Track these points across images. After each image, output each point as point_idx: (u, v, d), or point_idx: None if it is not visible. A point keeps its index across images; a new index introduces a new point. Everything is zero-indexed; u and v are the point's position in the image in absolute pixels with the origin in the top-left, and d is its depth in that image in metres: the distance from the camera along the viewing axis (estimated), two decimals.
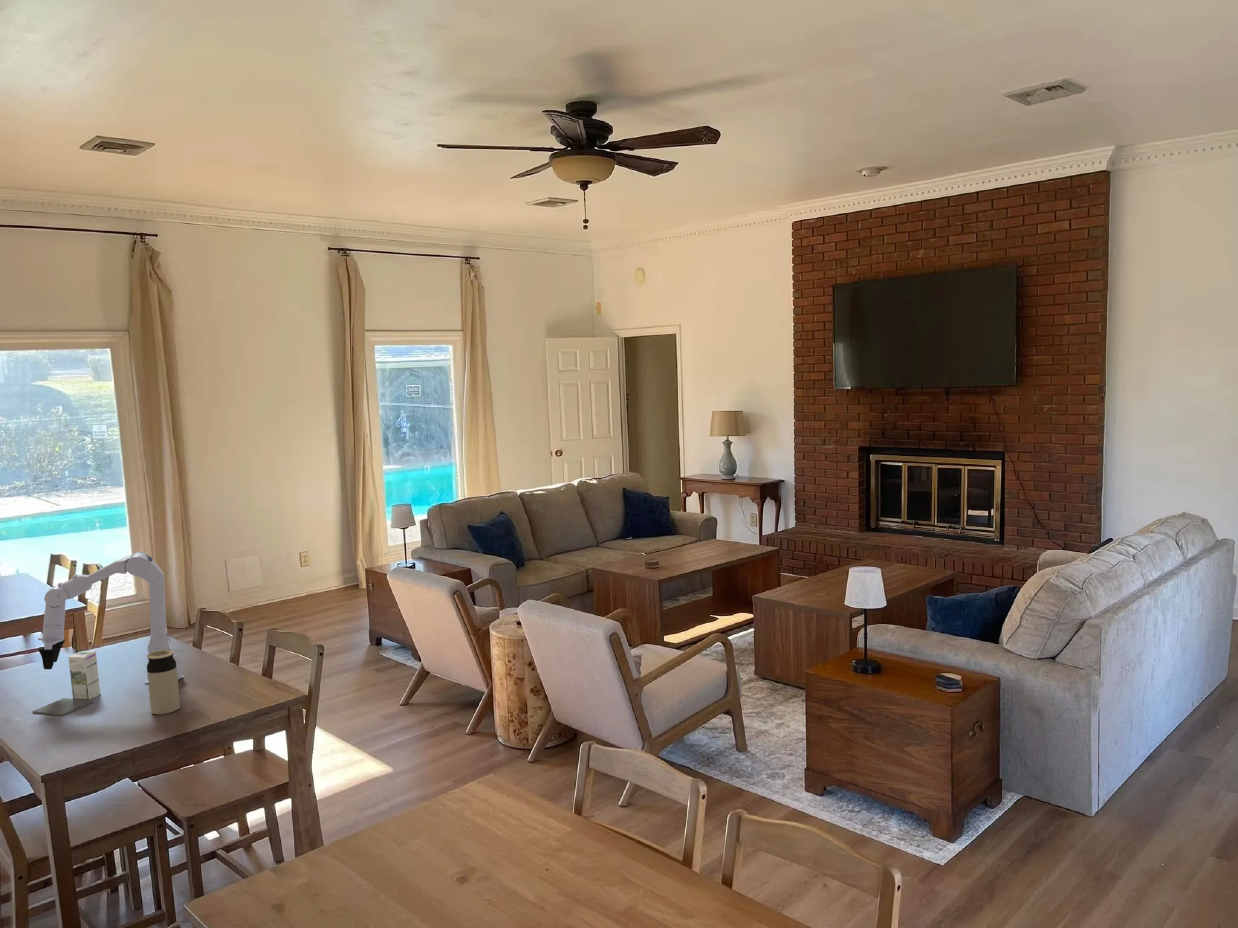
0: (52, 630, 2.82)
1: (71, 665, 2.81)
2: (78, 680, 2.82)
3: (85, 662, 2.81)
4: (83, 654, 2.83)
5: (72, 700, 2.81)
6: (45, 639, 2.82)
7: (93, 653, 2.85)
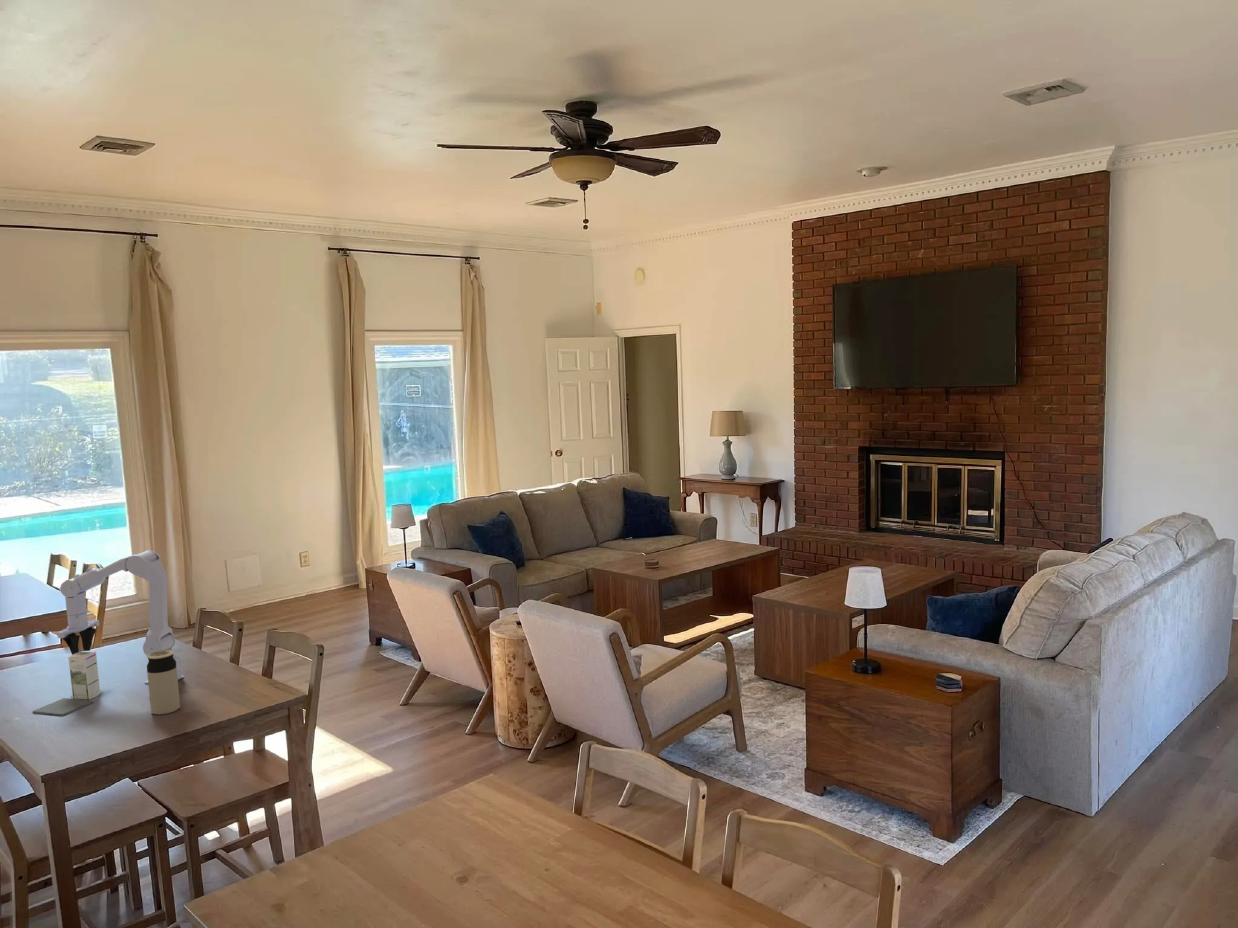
0: (70, 619, 2.94)
1: (71, 665, 2.81)
2: (78, 680, 2.82)
3: (85, 662, 2.81)
4: (83, 654, 2.83)
5: (72, 700, 2.81)
6: (68, 628, 2.95)
7: (93, 653, 2.85)
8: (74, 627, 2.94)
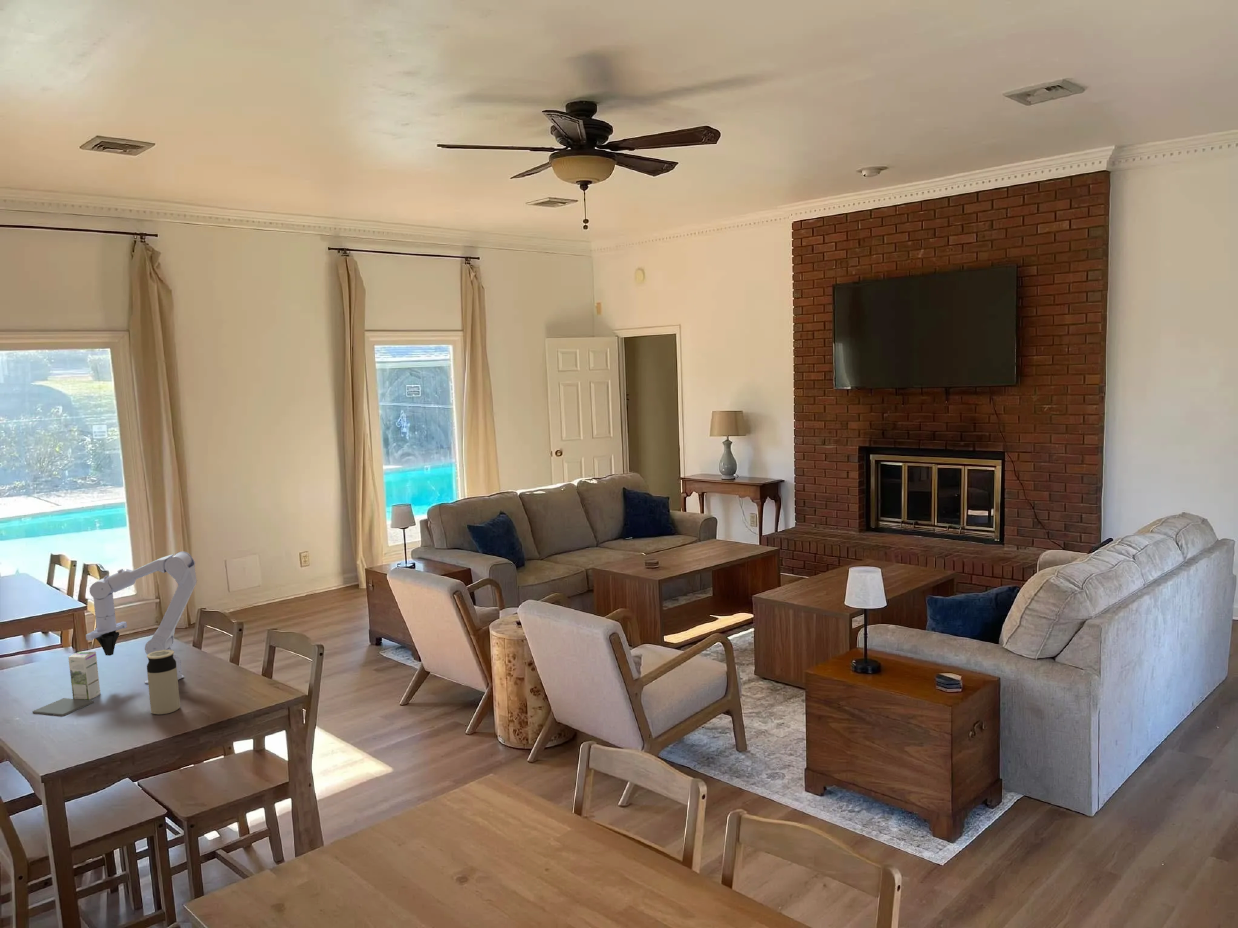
0: (98, 621, 2.91)
1: (71, 665, 2.81)
2: (78, 680, 2.82)
3: (85, 662, 2.81)
4: (83, 654, 2.83)
5: (72, 700, 2.81)
6: (96, 630, 2.92)
7: (93, 653, 2.85)
8: (102, 629, 2.91)
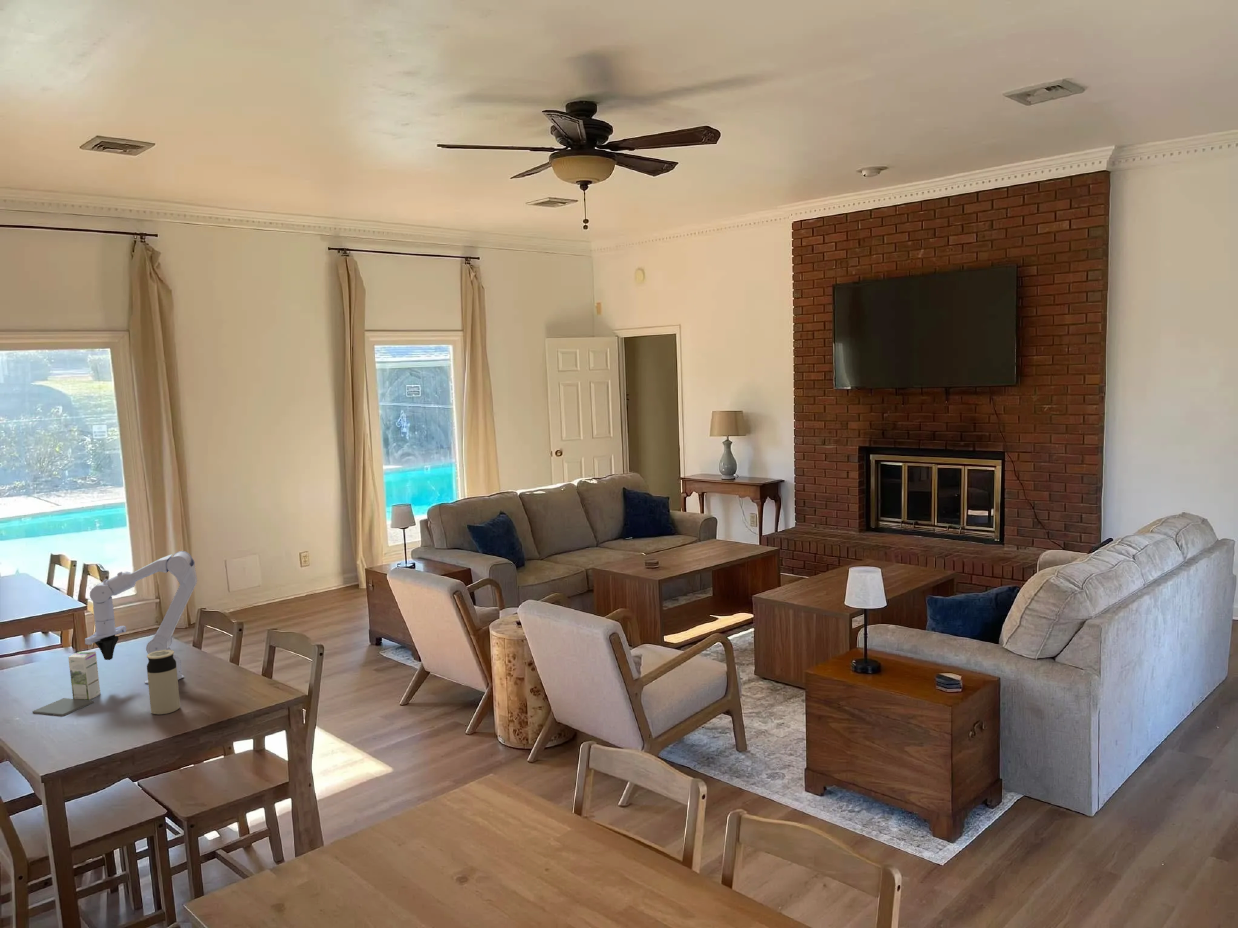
0: (98, 625, 2.89)
1: (71, 665, 2.81)
2: (78, 680, 2.82)
3: (85, 662, 2.81)
4: (83, 654, 2.83)
5: (72, 700, 2.81)
6: (95, 634, 2.90)
7: (93, 653, 2.85)
8: (102, 633, 2.89)
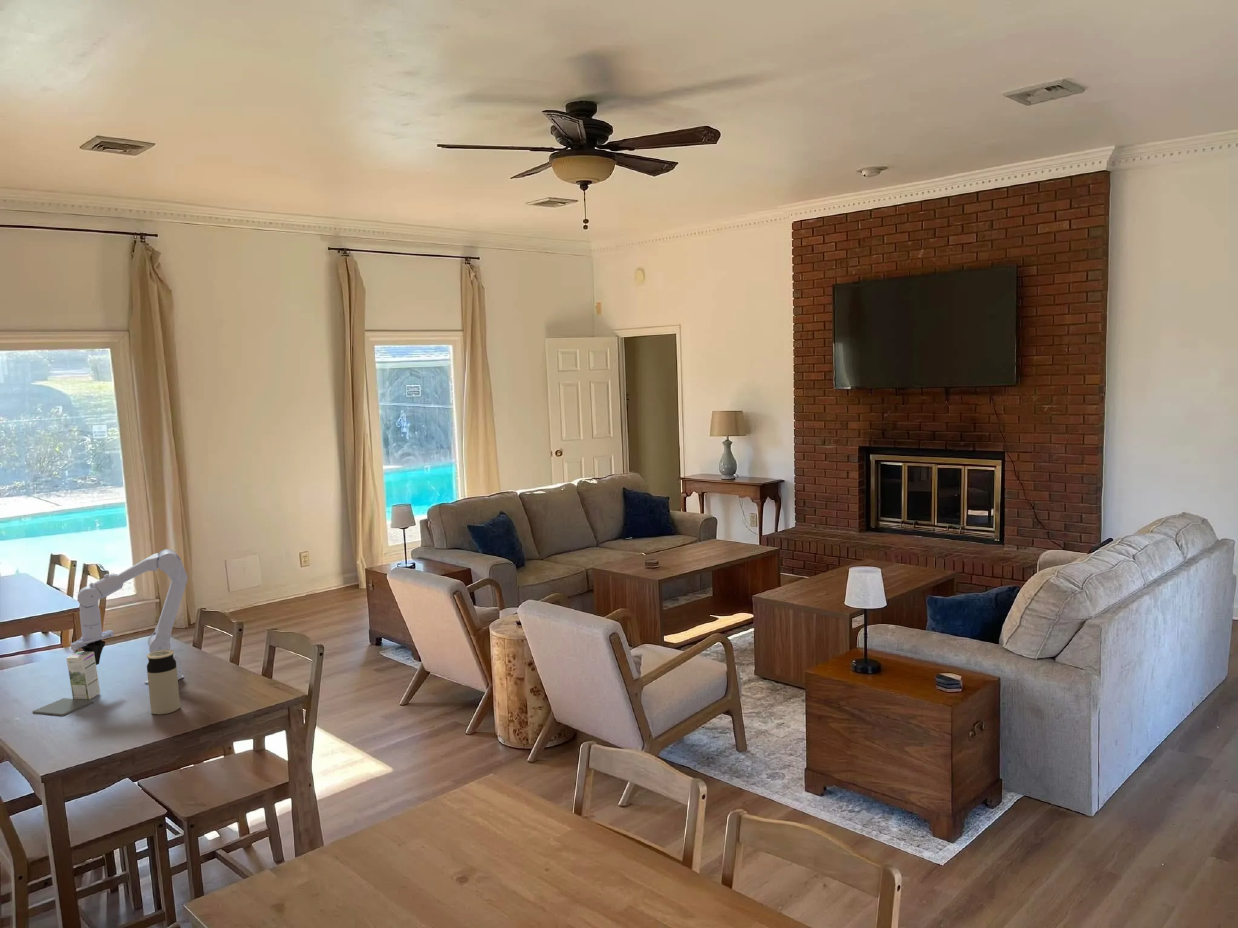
0: (84, 630, 2.84)
1: (69, 666, 2.81)
2: (77, 680, 2.81)
3: (84, 663, 2.80)
4: (81, 655, 2.82)
5: (72, 700, 2.81)
6: (81, 639, 2.85)
7: (91, 653, 2.84)
8: (88, 638, 2.84)
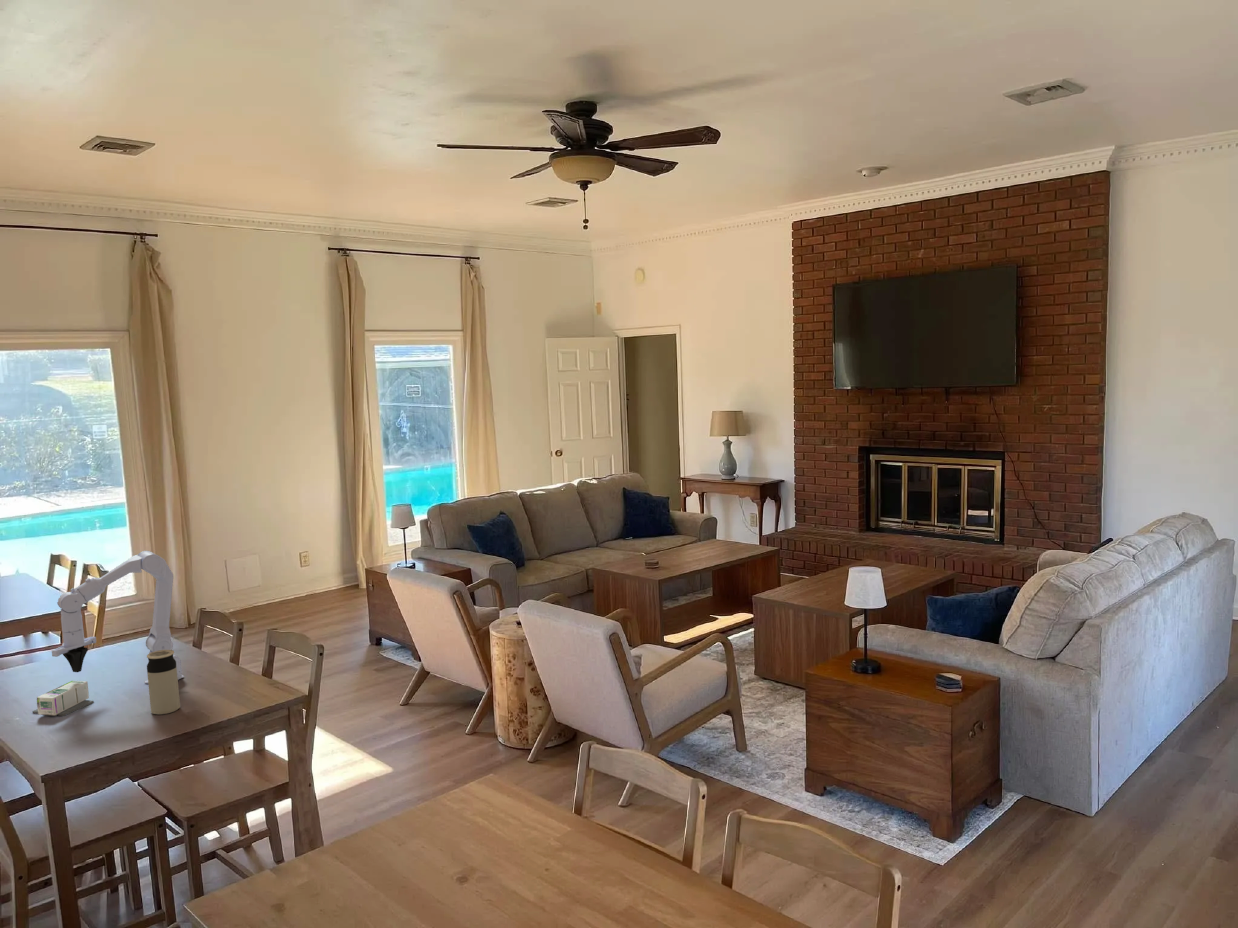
0: (65, 636, 2.78)
1: None
2: None
3: (59, 711, 2.70)
4: (48, 708, 2.68)
5: None
6: (63, 645, 2.79)
7: (53, 701, 2.68)
8: (70, 645, 2.78)
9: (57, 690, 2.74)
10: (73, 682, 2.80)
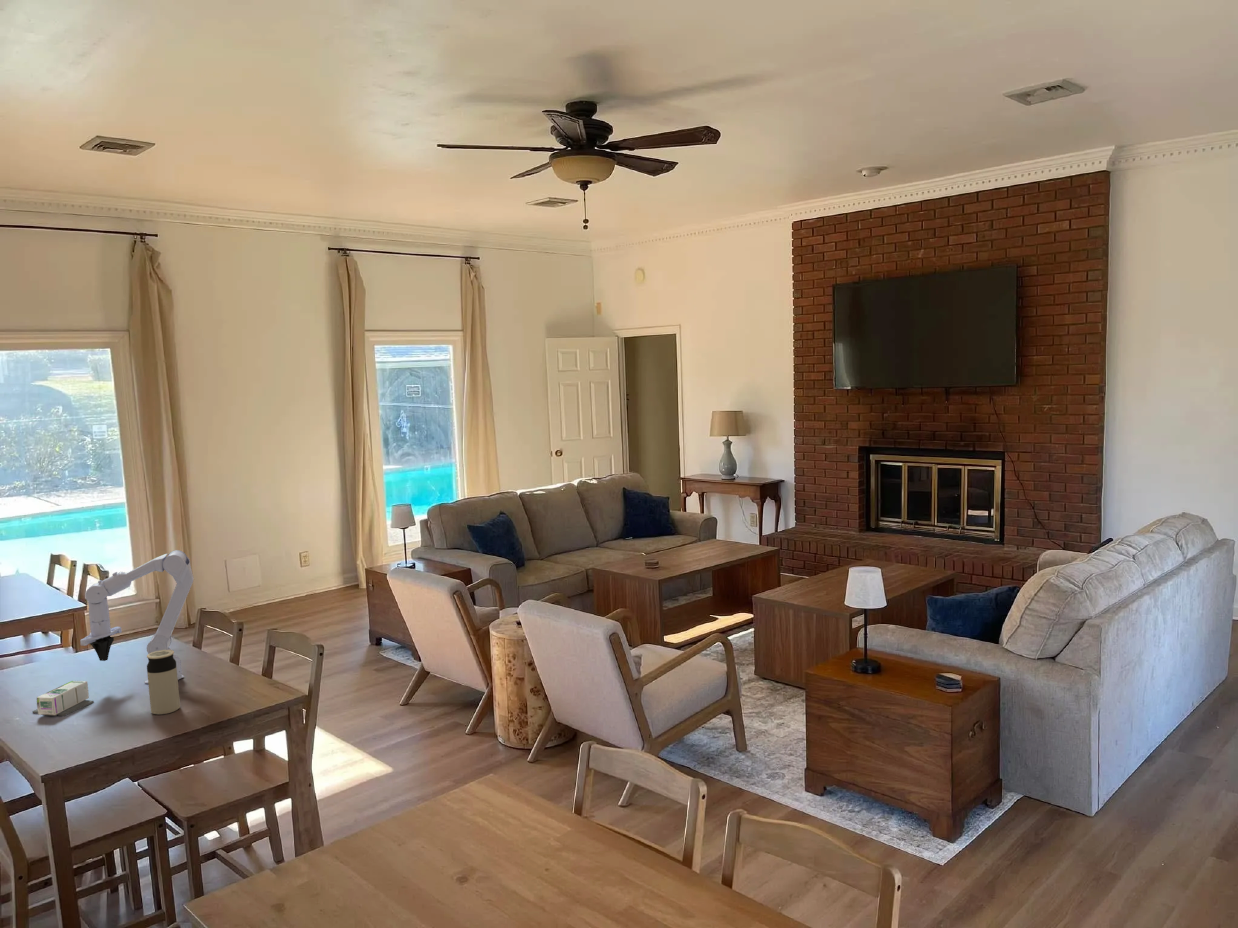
0: (93, 626, 2.88)
1: None
2: None
3: (59, 711, 2.70)
4: (48, 708, 2.68)
5: None
6: (90, 635, 2.89)
7: (53, 701, 2.68)
8: (97, 634, 2.88)
9: (57, 690, 2.74)
10: (73, 682, 2.80)
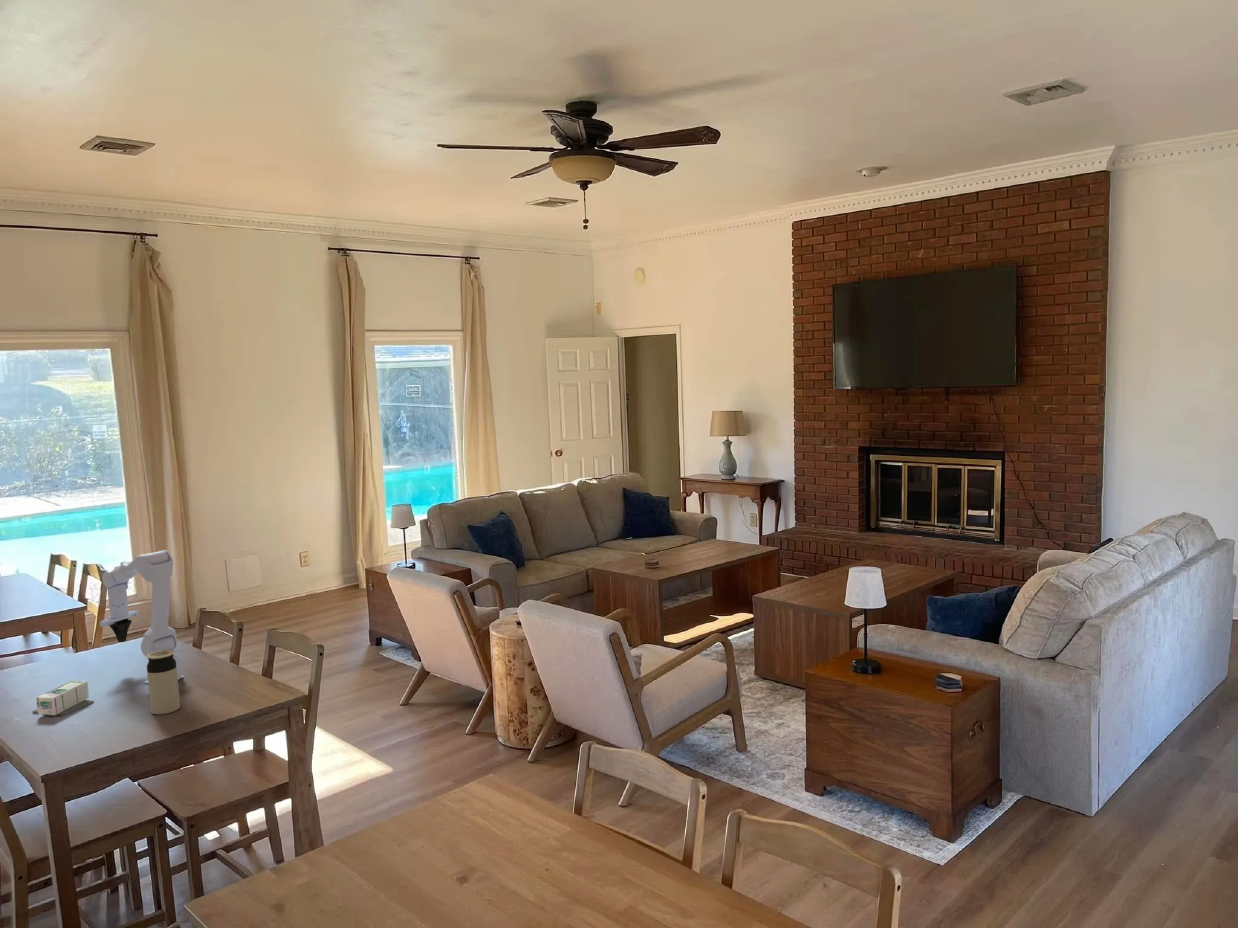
0: (112, 609, 3.05)
1: None
2: None
3: (59, 711, 2.70)
4: (48, 708, 2.68)
5: None
6: (110, 617, 3.06)
7: (53, 701, 2.68)
8: (116, 617, 3.06)
9: (57, 690, 2.74)
10: (73, 682, 2.80)
